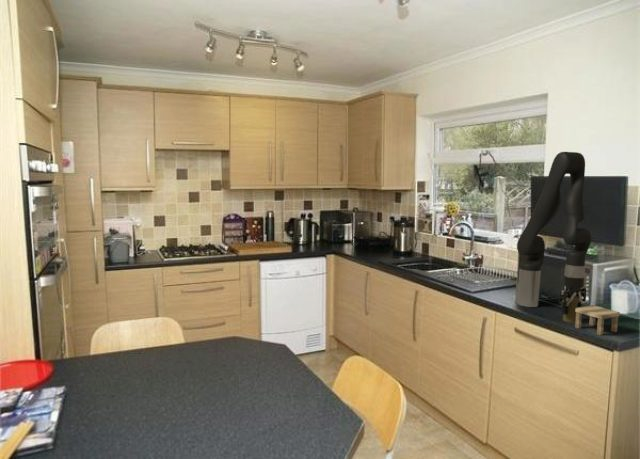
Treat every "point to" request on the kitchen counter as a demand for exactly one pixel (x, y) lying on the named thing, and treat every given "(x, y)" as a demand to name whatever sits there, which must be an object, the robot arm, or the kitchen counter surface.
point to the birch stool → (597, 313)
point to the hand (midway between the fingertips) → (571, 313)
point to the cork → (571, 310)
